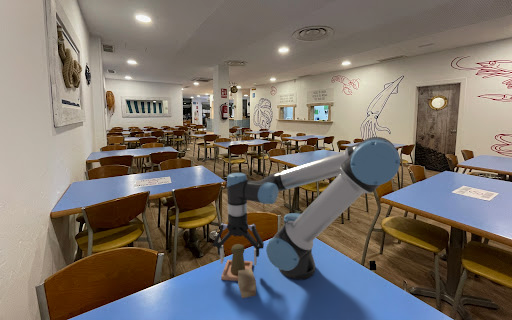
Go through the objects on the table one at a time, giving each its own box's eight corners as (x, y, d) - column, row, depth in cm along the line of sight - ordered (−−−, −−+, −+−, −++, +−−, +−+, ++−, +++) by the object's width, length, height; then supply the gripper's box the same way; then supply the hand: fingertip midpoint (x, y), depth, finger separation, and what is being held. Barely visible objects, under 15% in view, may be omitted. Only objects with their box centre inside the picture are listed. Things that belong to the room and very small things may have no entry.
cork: (243, 276, 94) (243, 250, 92) (228, 274, 96) (228, 248, 94) (247, 267, 100) (247, 242, 98) (233, 265, 101) (232, 241, 99)
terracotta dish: (252, 264, 103) (252, 261, 103) (249, 281, 92) (249, 278, 92) (227, 262, 104) (227, 259, 104) (221, 279, 93) (221, 276, 93)
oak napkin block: (251, 282, 92) (251, 268, 91) (255, 295, 85) (255, 280, 84) (238, 284, 90) (238, 270, 89) (241, 298, 84) (241, 283, 83)
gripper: (270, 210, 96) (269, 258, 99) (208, 208, 98) (211, 255, 102) (269, 217, 88) (269, 269, 92) (203, 215, 91) (205, 266, 94)
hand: (238, 262), depth 97 cm, fingers open, 13 cm apart
